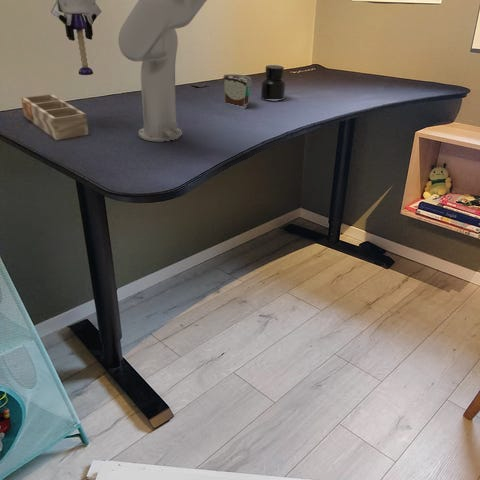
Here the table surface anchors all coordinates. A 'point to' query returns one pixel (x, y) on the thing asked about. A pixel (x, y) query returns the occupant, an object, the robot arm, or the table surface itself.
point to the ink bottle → (273, 83)
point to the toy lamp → (81, 41)
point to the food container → (237, 89)
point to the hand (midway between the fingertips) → (80, 38)
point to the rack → (55, 116)
